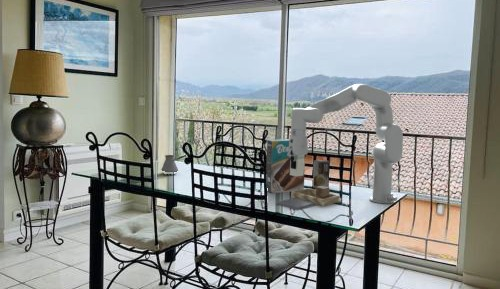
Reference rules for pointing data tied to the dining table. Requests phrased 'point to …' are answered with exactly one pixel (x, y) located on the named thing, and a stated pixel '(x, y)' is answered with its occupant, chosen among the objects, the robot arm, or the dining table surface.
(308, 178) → the dining table surface
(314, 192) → the crate
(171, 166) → the coffee pot
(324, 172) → the coffee box
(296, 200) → the trivet
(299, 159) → the white tall cylinder
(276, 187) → the cake mix box
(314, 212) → the dining table surface
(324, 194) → the walnut block
